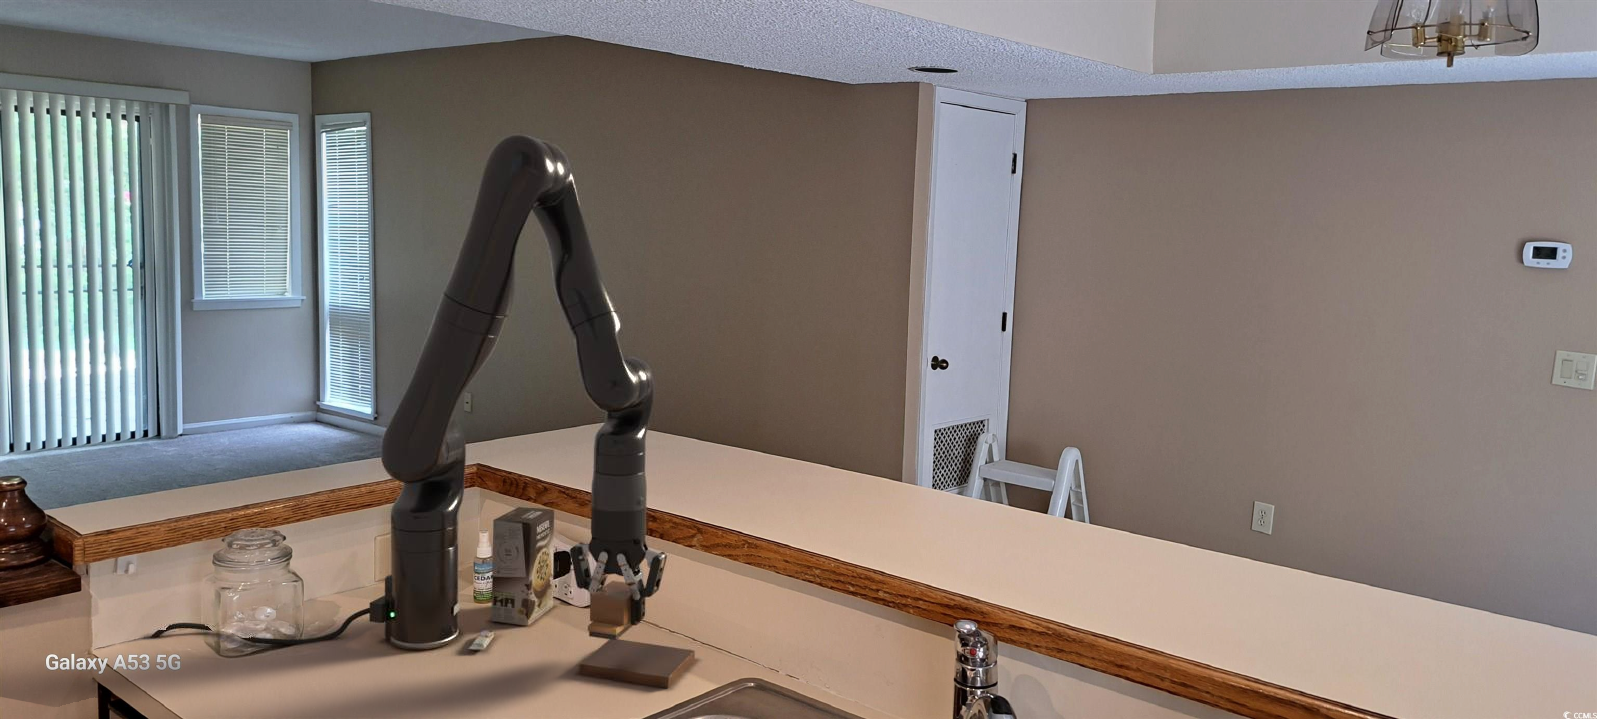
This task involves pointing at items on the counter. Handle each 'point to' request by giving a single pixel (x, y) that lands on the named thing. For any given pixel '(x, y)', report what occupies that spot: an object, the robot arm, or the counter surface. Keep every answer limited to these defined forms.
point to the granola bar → (482, 640)
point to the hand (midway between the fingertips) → (617, 620)
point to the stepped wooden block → (610, 611)
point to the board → (638, 662)
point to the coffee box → (522, 565)
